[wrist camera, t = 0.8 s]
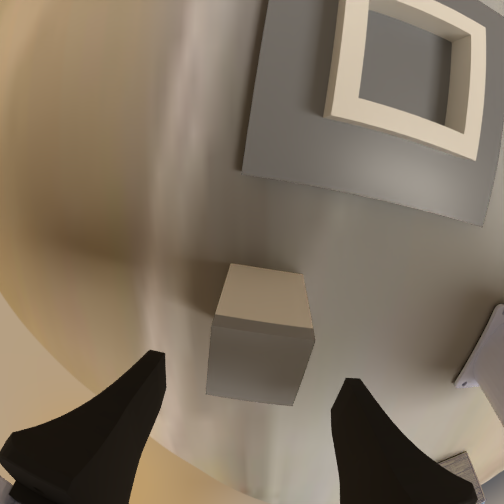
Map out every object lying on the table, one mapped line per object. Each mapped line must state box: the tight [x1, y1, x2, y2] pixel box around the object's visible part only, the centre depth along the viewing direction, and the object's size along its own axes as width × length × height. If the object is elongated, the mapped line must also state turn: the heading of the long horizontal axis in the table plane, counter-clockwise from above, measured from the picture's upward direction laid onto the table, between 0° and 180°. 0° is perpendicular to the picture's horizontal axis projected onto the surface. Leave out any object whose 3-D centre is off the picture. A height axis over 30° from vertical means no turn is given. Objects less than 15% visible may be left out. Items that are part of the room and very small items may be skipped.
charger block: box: [206, 263, 315, 406], centre depth 15 cm, size 4×4×6 cm
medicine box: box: [438, 452, 486, 504], centre depth 22 cm, size 8×4×9 cm, turn 104°
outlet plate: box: [241, 0, 504, 227], centre depth 11 cm, size 14×14×3 cm
